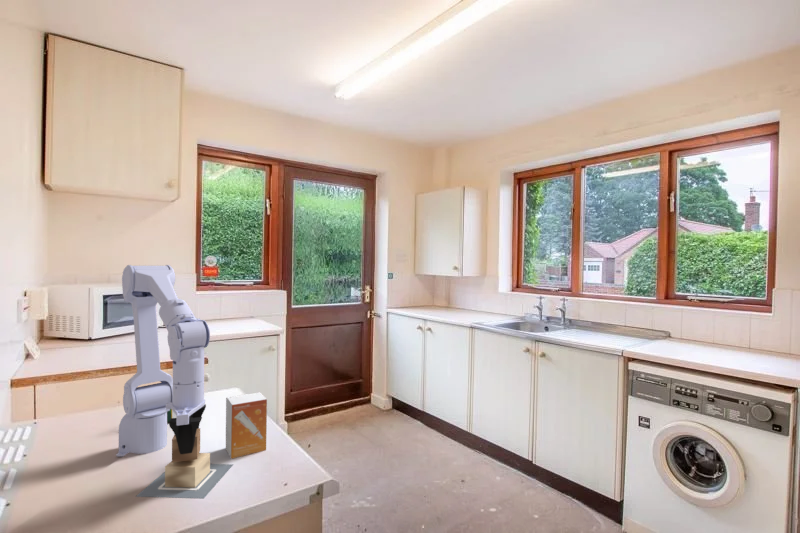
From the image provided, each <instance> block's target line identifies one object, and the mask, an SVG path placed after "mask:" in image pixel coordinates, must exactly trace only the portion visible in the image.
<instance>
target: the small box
mask: <svg viewBox="0 0 800 533" xmlns="http://www.w3.org/2000/svg"><path fill="white" fill-rule="evenodd" d="M267 413H268V400H267V397H266V396H265V395H263V394H262V392H260V391H258V392H253V393H246V394H240V395H234V396H227V397H226V398H225V450H226V451H227V454H228V456H229V457H230V459H235V458H236V459H237V458H240V457H243V456H247V455H251V454H257V453H260V452H263V451H264V452H265V451H267V429H268V428H267V427H268V425H267V423H268V421H267V420H268V418H267V416H268V415H267Z"/></svg>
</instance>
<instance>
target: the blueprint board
mask: <svg viewBox="0 0 800 533" xmlns="http://www.w3.org/2000/svg"><path fill="white" fill-rule="evenodd" d="M233 466H234V464H232V463H231V464H229V463H225V464H224V463H223V464H222V463H210V473H209V474H208V475H207V476H206V477H205V478H204V479H203V480H202V481H201V482H200V483H199V484H198V485H197V486H196V487H195V488H191V487H165V471H164V472H162V474H160V475H159V476H158V477H157V478H156V479H155V480H153V481H152V482H151V483H150V484H149V485H147V486H146V487H145V488H144V489H143V490H141V491H140V492H139V493H138V494H137V495H136V496H135V497H137V498H139V497H141V498H168V499H169V498H170V499H171V498H175V499H177V498H178V499H205V498H206V497H207V495H209V493H210V492H211V491H212V490H213V489H214V488H215V486H216V485H217V484H218V483H219V482H220V480H222V478H223V477H224V476H225V475H226V474H227V472H229V471H230V469H231V468H232V467H233Z"/></svg>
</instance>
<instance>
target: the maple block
mask: <svg viewBox="0 0 800 533" xmlns="http://www.w3.org/2000/svg"><path fill="white" fill-rule="evenodd" d="M210 464H211V452H209V453H208V452H199V455H198V458H197V459H195V460H187V461H180V462H172V460H171V461H170V462H168V463H167V465H165V466H164V472H165V487H191V488H195V487H196V486H197V485H198V484H199V483H200V482H201V481H202V480H203V479H204V478H205V477H206V476H207V475H208V474H209V473H210Z"/></svg>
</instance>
